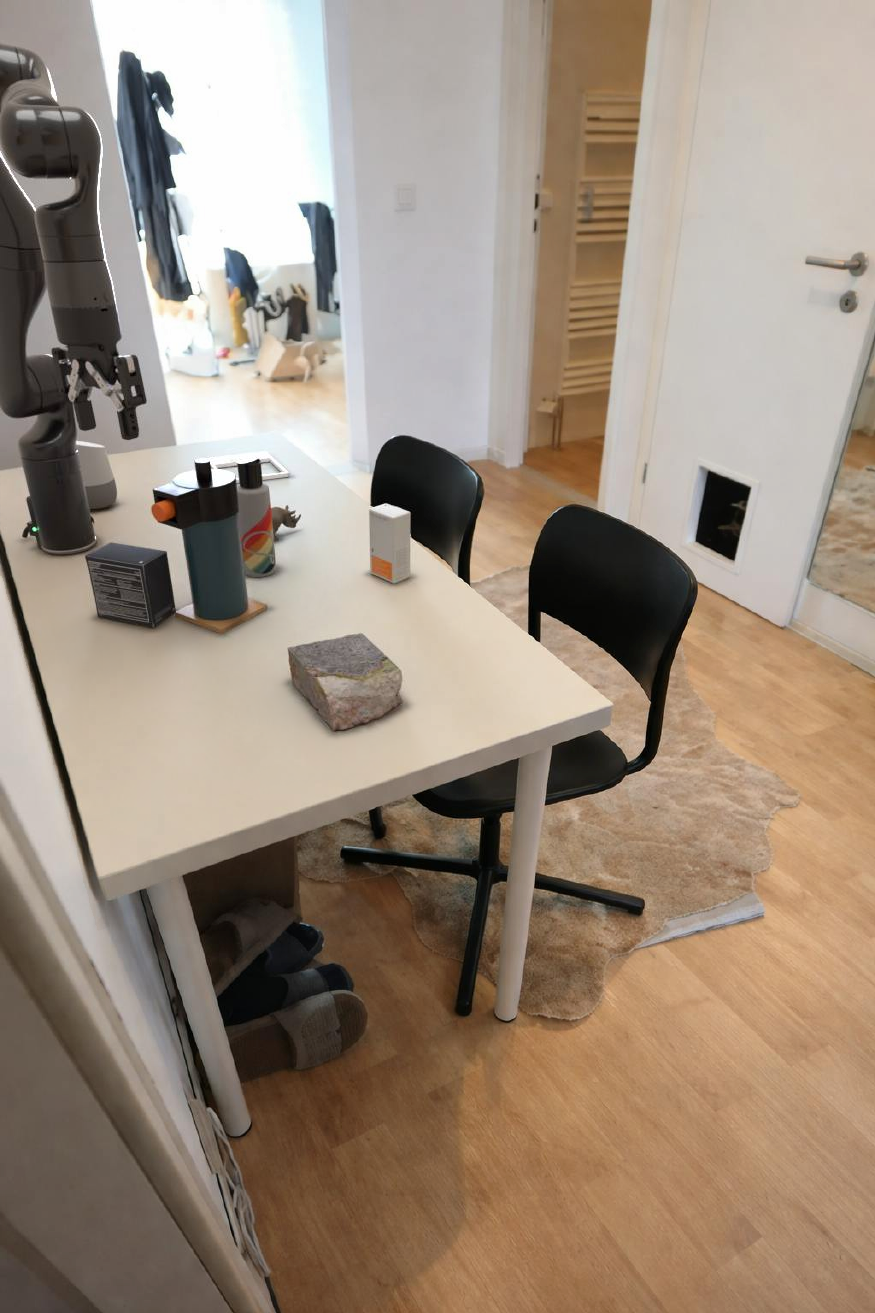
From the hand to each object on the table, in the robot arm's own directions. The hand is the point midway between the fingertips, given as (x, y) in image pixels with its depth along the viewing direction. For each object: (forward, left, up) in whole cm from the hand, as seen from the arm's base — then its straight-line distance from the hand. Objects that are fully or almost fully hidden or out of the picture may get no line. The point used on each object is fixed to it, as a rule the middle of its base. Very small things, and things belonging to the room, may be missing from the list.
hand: (109, 433), depth 109 cm
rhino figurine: (0, +40, -30) cm, 50 cm away
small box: (-5, +5, -30) cm, 31 cm away
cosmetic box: (+27, +32, -30) cm, 51 cm away
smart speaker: (-42, +43, -30) cm, 67 cm away
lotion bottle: (+5, +26, -30) cm, 40 cm away
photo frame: (-25, +75, -30) cm, 84 cm away
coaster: (+7, +10, -30) cm, 32 cm away
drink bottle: (+7, +8, -29) cm, 31 cm away
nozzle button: (+5, +2, -12) cm, 13 cm away
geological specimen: (+35, -5, -30) cm, 47 cm away
